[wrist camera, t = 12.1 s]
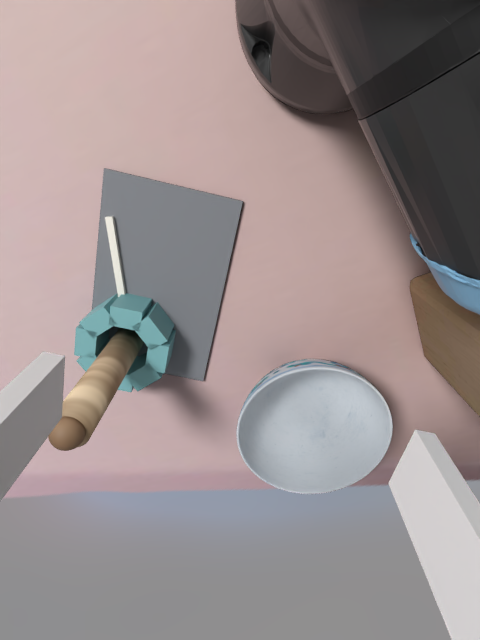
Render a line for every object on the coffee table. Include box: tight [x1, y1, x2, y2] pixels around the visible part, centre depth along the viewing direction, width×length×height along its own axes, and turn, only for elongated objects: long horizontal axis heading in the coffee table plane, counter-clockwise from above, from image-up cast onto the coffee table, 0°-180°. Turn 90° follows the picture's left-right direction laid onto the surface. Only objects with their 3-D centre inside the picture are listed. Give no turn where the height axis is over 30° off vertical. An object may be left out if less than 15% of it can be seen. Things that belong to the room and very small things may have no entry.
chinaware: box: [237, 359, 393, 494], centre depth 41 cm, size 15×15×8 cm
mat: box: [92, 168, 243, 381], centre depth 40 cm, size 20×13×1 cm, turn 167°
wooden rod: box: [48, 328, 144, 451], centre depth 34 cm, size 3×3×17 cm
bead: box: [74, 293, 176, 392], centre depth 40 cm, size 9×9×4 cm
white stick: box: [105, 216, 126, 297], centre depth 38 cm, size 8×1×1 cm, turn 2°
